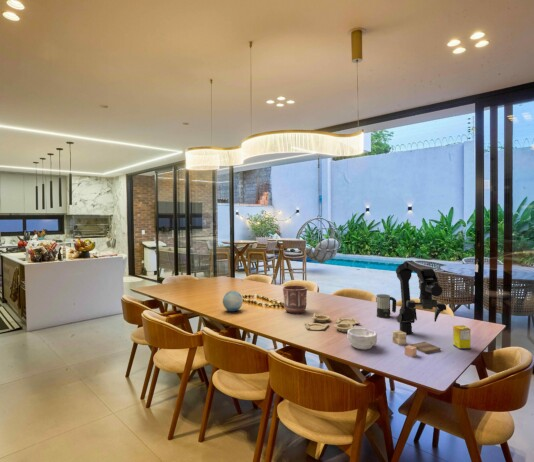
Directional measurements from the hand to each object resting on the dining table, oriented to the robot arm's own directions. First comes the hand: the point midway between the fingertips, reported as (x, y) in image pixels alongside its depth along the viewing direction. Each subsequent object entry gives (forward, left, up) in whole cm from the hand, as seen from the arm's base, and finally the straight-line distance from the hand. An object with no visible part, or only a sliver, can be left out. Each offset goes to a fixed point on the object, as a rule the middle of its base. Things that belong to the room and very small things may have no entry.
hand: (425, 320), depth 181 cm
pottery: (-90, -32, -14) cm, 97 cm away
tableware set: (-51, -25, -14) cm, 59 cm away
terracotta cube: (+6, -16, -14) cm, 22 cm away
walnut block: (+3, -3, -14) cm, 15 cm away
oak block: (-9, -9, -14) cm, 19 cm away
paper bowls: (-13, -31, -14) cm, 36 cm away
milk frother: (-57, +21, -14) cm, 62 cm away
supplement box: (+9, +16, -14) cm, 23 cm away
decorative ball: (-110, -74, -14) cm, 133 cm away
